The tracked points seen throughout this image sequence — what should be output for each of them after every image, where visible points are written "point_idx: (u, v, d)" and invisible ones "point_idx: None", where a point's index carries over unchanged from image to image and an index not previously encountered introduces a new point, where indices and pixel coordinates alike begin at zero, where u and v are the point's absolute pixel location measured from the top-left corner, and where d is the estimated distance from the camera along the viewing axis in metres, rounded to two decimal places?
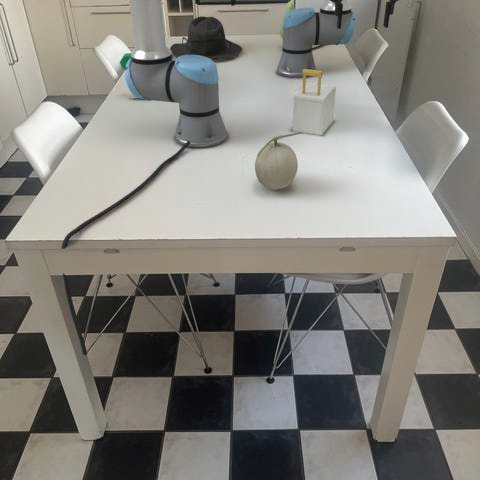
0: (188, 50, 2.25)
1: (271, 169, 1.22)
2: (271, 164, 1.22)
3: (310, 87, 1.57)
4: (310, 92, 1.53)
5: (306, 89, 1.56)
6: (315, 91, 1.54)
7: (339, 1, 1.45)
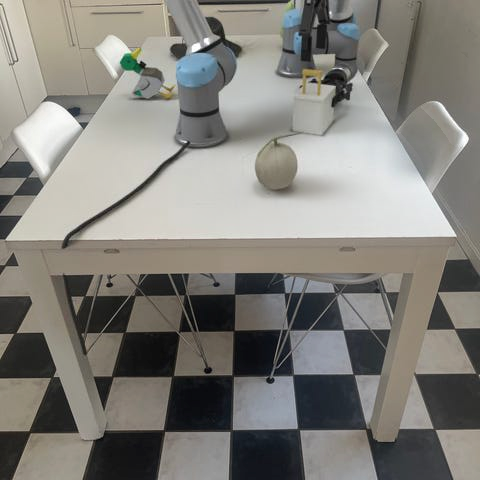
0: None
1: (271, 169, 1.22)
2: (271, 164, 1.22)
3: (310, 87, 1.57)
4: (310, 92, 1.53)
5: (306, 89, 1.55)
6: (315, 91, 1.54)
7: None
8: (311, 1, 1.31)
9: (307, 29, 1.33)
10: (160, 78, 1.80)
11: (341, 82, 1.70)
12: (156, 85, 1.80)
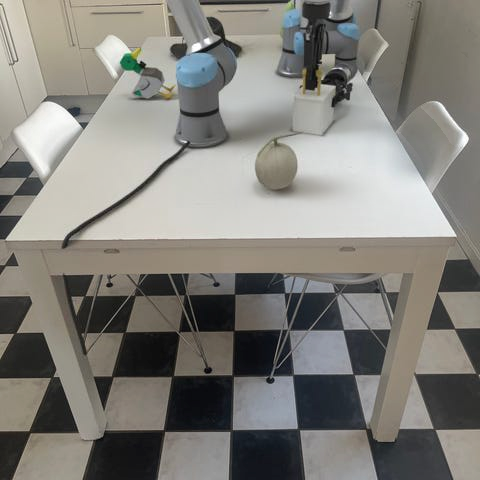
0: None
1: (271, 169, 1.22)
2: (271, 164, 1.22)
3: None
4: (310, 92, 1.53)
5: None
6: (315, 91, 1.54)
7: None
8: (310, 39, 1.38)
9: (311, 63, 1.42)
10: (160, 78, 1.80)
11: (341, 82, 1.70)
12: (156, 85, 1.80)
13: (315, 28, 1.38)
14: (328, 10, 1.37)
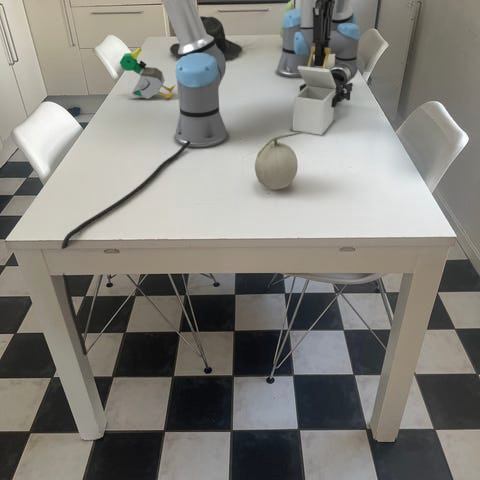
0: None
1: (271, 169, 1.22)
2: (271, 164, 1.22)
3: None
4: None
5: None
6: None
7: None
8: (319, 14, 1.40)
9: (320, 38, 1.44)
10: (160, 78, 1.80)
11: (341, 82, 1.70)
12: (156, 85, 1.80)
13: (324, 3, 1.40)
14: None
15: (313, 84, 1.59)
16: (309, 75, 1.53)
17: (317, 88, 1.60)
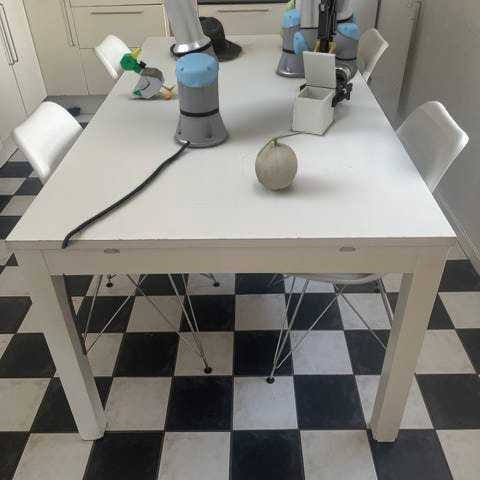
0: None
1: (271, 169, 1.22)
2: (271, 164, 1.22)
3: None
4: None
5: None
6: None
7: None
8: (325, 10, 1.43)
9: (324, 34, 1.48)
10: (160, 78, 1.80)
11: (341, 82, 1.70)
12: (156, 85, 1.80)
13: (330, 0, 1.44)
14: None
15: (313, 81, 1.59)
16: (312, 65, 1.54)
17: (317, 88, 1.60)
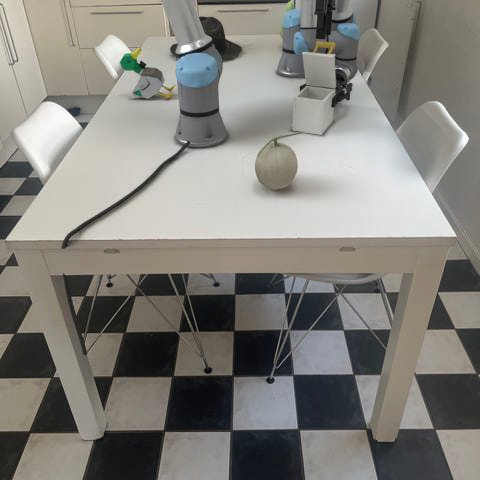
0: None
1: (271, 169, 1.22)
2: (271, 164, 1.22)
3: None
4: None
5: None
6: None
7: None
8: None
9: (322, 8, 1.41)
10: (160, 78, 1.80)
11: (341, 82, 1.70)
12: (156, 85, 1.80)
13: None
14: None
15: (313, 81, 1.59)
16: (311, 66, 1.53)
17: (317, 88, 1.60)
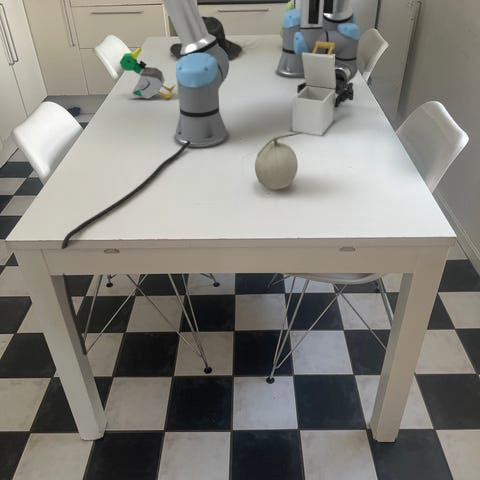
0: None
1: (271, 169, 1.22)
2: (271, 164, 1.22)
3: None
4: None
5: None
6: None
7: None
8: None
9: None
10: (160, 78, 1.80)
11: (341, 82, 1.70)
12: (156, 85, 1.80)
13: None
14: None
15: (313, 81, 1.58)
16: (311, 66, 1.53)
17: (317, 88, 1.60)
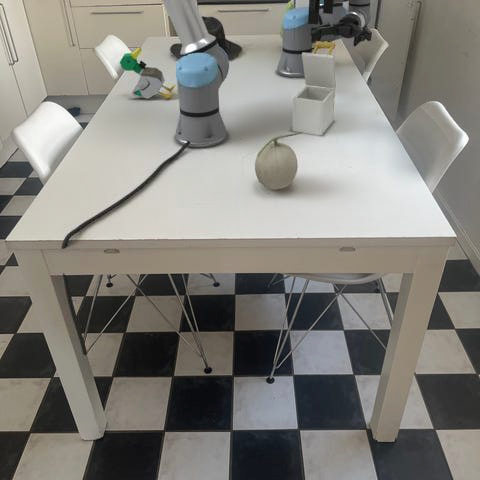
0: None
1: (271, 169, 1.22)
2: (271, 164, 1.22)
3: None
4: None
5: None
6: None
7: None
8: None
9: None
10: (160, 78, 1.80)
11: (355, 25, 1.70)
12: (156, 85, 1.80)
13: None
14: None
15: (313, 81, 1.58)
16: (311, 66, 1.53)
17: (317, 88, 1.60)
